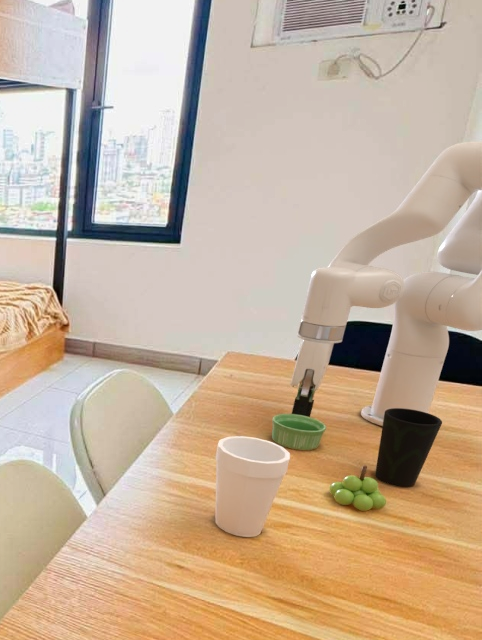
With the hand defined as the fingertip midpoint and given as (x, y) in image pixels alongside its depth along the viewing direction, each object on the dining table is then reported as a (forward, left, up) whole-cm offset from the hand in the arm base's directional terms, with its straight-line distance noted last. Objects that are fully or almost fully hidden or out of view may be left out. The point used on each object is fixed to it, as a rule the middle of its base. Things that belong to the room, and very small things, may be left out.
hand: (300, 417), depth 130 cm
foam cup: (+48, -3, -3) cm, 48 cm away
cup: (+16, +16, -3) cm, 23 cm away
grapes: (+29, +11, -3) cm, 31 cm away
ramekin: (+8, 0, -3) cm, 9 cm away
